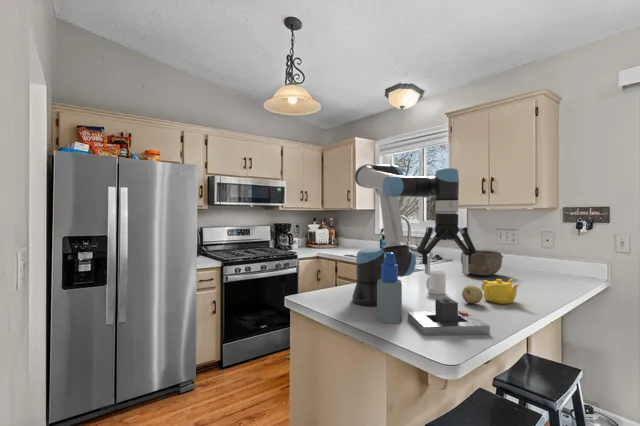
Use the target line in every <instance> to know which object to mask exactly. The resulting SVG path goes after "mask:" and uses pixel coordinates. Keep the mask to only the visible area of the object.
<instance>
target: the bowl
mask: <svg viewBox="0 0 640 426" xmlns="http://www.w3.org/2000/svg"><path fill="white" fill-rule="evenodd" d="M475 250H476V253H473V254H472V255H471V261H470V264H468V274H471V275H473V276H475V275H476V276H491V275H492V276H493V275H495V274H496V273H498V272H499V271H500V270H501V268H502V265H503V259H504V256H503V255H504V254H503V255H502V253H501V252H500V251H497V250H488V249H487V250H486V249H484V250H482V249H475ZM462 255H465V253H464V252H463V251H462V250H461V254H460V262H461V264H462Z"/></svg>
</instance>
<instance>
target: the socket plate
mask: <svg viewBox="0 0 640 426" xmlns="http://www.w3.org/2000/svg"><path fill="white" fill-rule="evenodd" d="M407 321H409V322H410V323H411V324H412V325H413V327H414V328H416V329H417V331H418V332H420V333H421V334H422V335H423V336H425V337H426V336H427V337H429V336H430V337H431V336H459V335H460V336H463V335H464V336H466V335H467V336H468V335H469V336H471V335H473V336H474V335H490V334H491V332H490V331H491V330H490V329H491V325H490V324H488V323H486V322H484V321H483V320H481V319H480V318H478V317H476V316H475V315H473V314H471V313H469V312H468V311H466V310H458V322H439V323H435V311H407Z"/></svg>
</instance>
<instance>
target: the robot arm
mask: <svg viewBox="0 0 640 426" xmlns="http://www.w3.org/2000/svg"><path fill="white" fill-rule="evenodd" d="M434 175H435V176H408V175H407V176H405V175H404V172H403V170H402V169H401V168H400V167H399V166H398V165H395V164H389V163H388V164H375V163H367V164H363V165H361V166H359V167H358V168H357V169H356V171H355V173H354V182H355V183H356V184H357V185H358V186H359V187H361V188H364V189H375V193H376V195H378V197H379V203H380V208H381V218H382V225H383V234H384V241H385V244H384V246H383V247H382V248H380V247H370V248H364V249H361V250H359V251H357V253H356V261H355V262H356V265H355V267H356V273H355V274H356V277H355V278H356V285H355V287H354V289H353V293H352V302H353V304H356V305H359V306H367V307H377V282H378V280H379V279H381V264H383V263H384V252H392V253H395V260H396V264H398V278H399V277H400V278H402V277H410V276H411V275H412V274H413V273H414V271H415V269H416V265H417V259H416V254H415V253H414V251H412V250H411V249H410V248H409V247H410V246H409V244H407V243H406V242H405V236H404V228H403V222H402V221H403V220H402V216H401V215H402V214H401V209H400V202H399V201H400V200H399V198H400V197H406V198H407V197H409V198H410V197H411V198H413V197H414V198H427V199H428V198H433V197H435V214H434V217H435V218H434V219H435V220H434V221H435V222H434V223H435V226H434V227H432V226H426V229H425V233H424V236H423V238H422V240H421V242H420V243H419V246H418V248H417V250H416V253H419V254H421V255H422V256H421V258H422V259H421V261H422V262H421V263H422V265H424V274H426V275H427V276H428V275H430V271H431V255H429V254H430V253H431V251H433V249H434V248H435V247H436V245H437V244H438V243H439V242H440V241H442V240H443V241H447V240H449V241H454V242H455V244H456V245H457V246H458V247H459V249H461V252H462V251H463V252H464V253H465V255H462V263H461V272H462V274H464V275H469V272H468V264H470V261H471V255H472V254H473V253H476V250H477V249H476V248H475V246H474V243H473V241H472V239H471V237H470V234H469V233H468V227H466V226H461V227H459V214H458V212H459V195H460V193H459V192H460V191H459V187H460V186H459V185H460V177H459V170H458V169H457V168H453V167H452V168H451V167H444V168H438V169H436V171H435V174H434ZM433 233H435V235H434V237H433V239H431V237H432V234H433ZM458 233H460V234H461V237H462V239H463V241H464V242H463V241H462V240H461V238H460V236H459V235H458ZM430 239H431V241H429V240H430Z"/></svg>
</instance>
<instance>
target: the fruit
mask: <svg viewBox="0 0 640 426" xmlns="http://www.w3.org/2000/svg"><path fill="white" fill-rule="evenodd" d="M482 291H483V290H482V289H481V288H479V287H478V286H476V285H473V284H472V285H466V286H465V287H463V290H462V292H461V296H462V298H463V300H464V301H465V302H466V303H468V304H471V305H475V304H479V303H480V302H481V301H482V299H483V298H484V293H483V292H482Z"/></svg>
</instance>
